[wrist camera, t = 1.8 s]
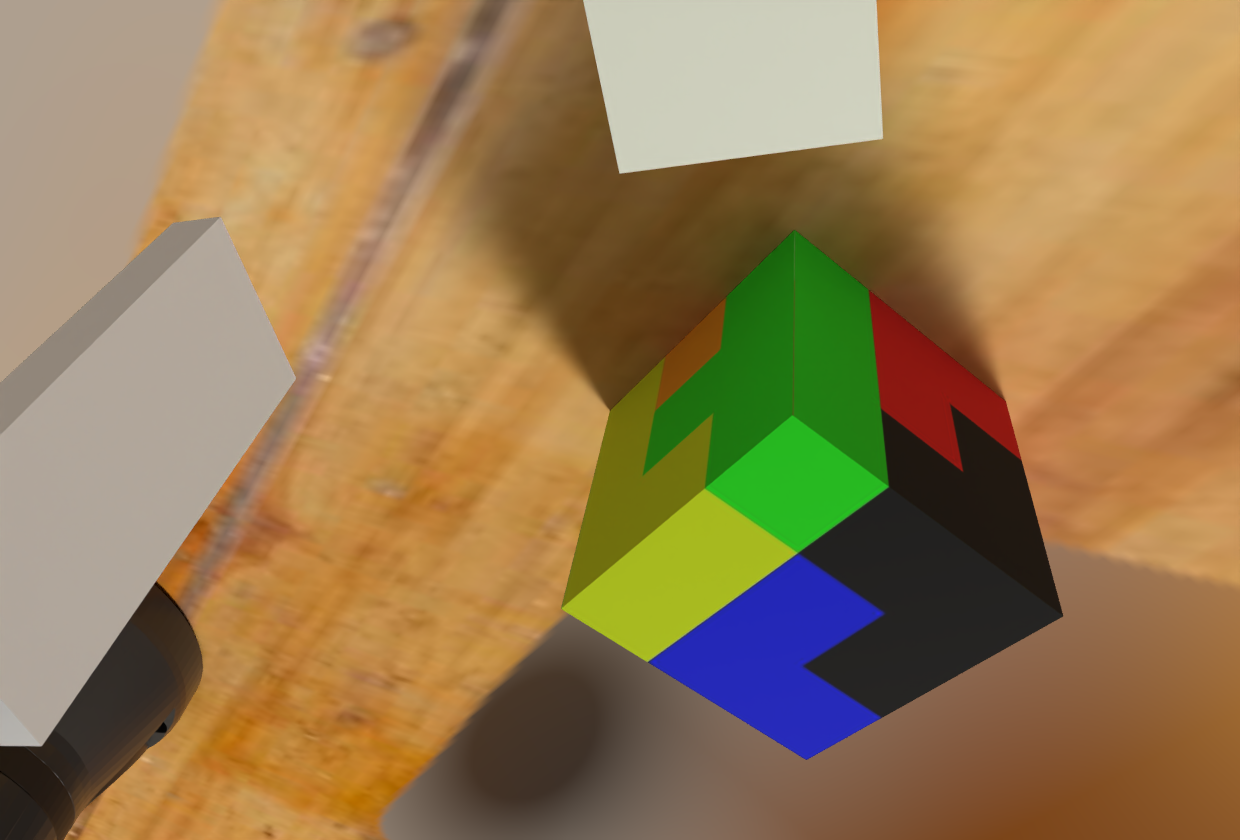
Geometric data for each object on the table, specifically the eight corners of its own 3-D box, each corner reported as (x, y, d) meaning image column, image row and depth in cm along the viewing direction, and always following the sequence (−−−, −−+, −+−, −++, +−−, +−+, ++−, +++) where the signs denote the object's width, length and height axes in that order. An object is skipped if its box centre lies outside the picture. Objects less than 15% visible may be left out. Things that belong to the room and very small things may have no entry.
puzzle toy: (805, 545, 41) (806, 760, 33) (610, 409, 38) (560, 608, 30) (1005, 400, 36) (1063, 616, 28) (794, 228, 33) (792, 415, 25)
